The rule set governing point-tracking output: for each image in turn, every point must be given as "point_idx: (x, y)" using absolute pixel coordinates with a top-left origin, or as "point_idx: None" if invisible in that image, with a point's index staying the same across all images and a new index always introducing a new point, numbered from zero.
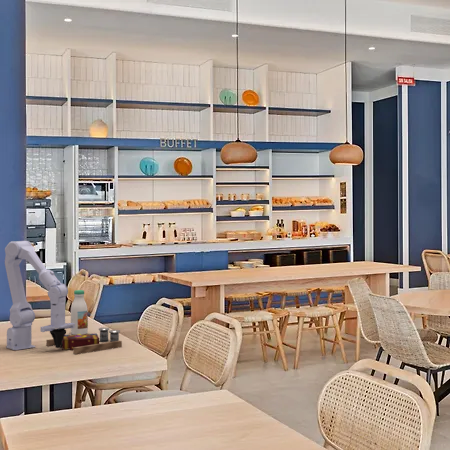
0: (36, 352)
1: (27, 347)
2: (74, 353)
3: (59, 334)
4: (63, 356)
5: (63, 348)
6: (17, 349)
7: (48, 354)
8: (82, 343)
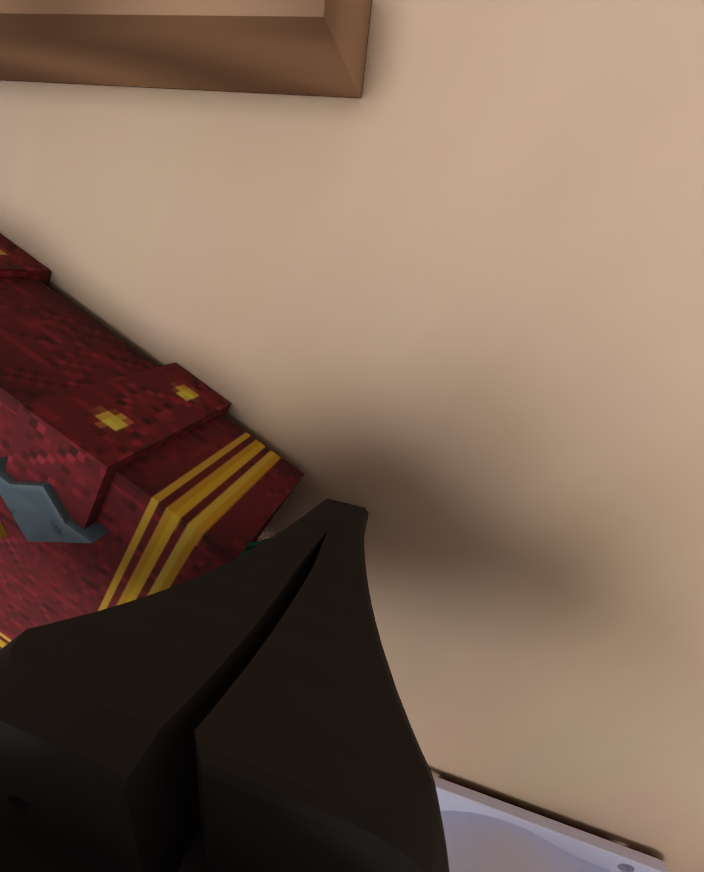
0: (610, 645)
1: (507, 814)
2: (363, 25)
3: (283, 684)
4: (668, 4)
5: (290, 473)
6: (635, 854)
7: (645, 428)
8: (9, 319)
